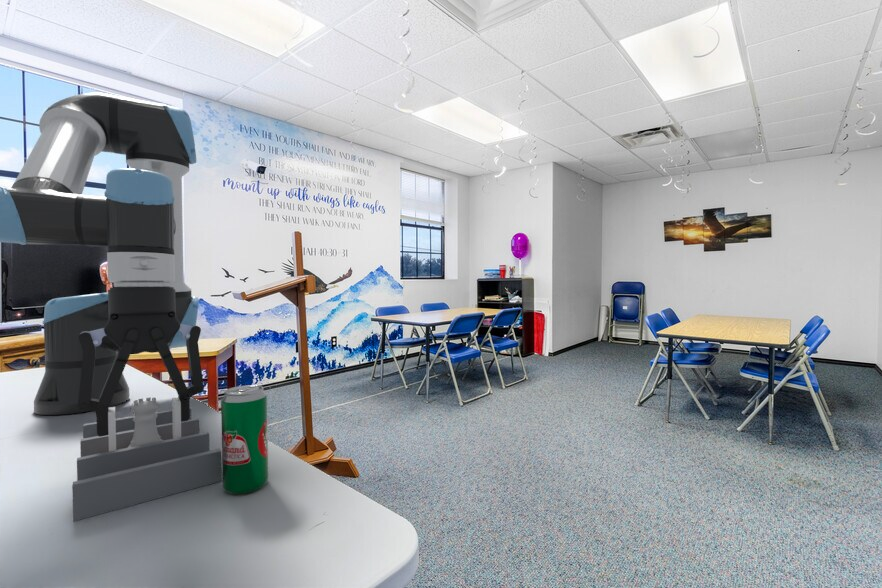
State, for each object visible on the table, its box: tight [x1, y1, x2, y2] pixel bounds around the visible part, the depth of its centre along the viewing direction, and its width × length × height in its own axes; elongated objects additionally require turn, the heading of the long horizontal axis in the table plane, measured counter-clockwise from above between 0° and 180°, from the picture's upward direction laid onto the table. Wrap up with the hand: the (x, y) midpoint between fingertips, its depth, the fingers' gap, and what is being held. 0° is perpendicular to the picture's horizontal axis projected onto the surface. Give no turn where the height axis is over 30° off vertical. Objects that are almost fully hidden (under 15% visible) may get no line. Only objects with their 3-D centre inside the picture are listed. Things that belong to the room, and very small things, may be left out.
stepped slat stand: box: [71, 406, 223, 522], centre depth 57 cm, size 25×14×4 cm, turn 39°
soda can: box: [220, 384, 269, 496], centre depth 50 cm, size 5×5×12 cm
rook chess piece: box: [128, 397, 163, 448], centre depth 57 cm, size 4×4×8 cm
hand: (146, 450), depth 57 cm, fingers open, 7 cm apart
